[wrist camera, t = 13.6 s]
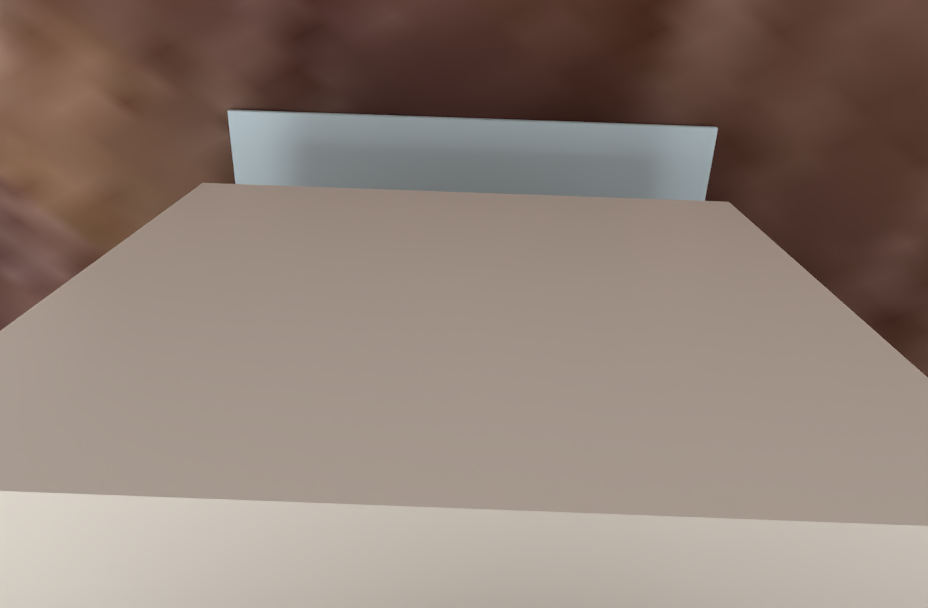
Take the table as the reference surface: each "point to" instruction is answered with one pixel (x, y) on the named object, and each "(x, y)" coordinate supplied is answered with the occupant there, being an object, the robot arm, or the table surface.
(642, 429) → the plain cream cube
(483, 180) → the plain pale blue panel
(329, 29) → the table surface
